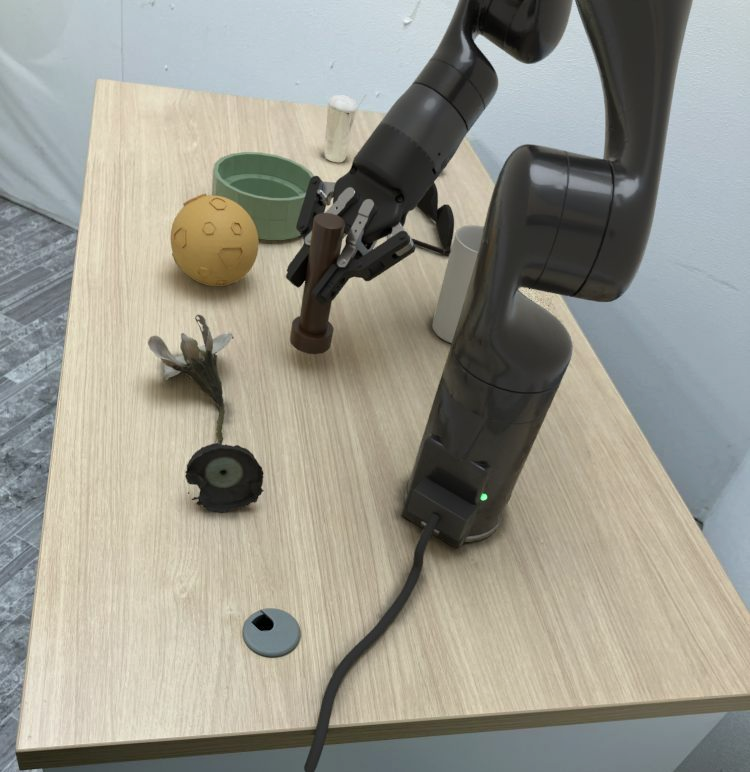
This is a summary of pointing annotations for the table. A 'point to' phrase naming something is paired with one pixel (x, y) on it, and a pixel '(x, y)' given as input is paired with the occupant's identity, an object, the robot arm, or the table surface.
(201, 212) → the stress ball
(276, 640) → the table surface
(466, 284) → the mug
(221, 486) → the artificial flower
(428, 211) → the sunglasses
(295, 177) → the bowl
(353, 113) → the milkshake
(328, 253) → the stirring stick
